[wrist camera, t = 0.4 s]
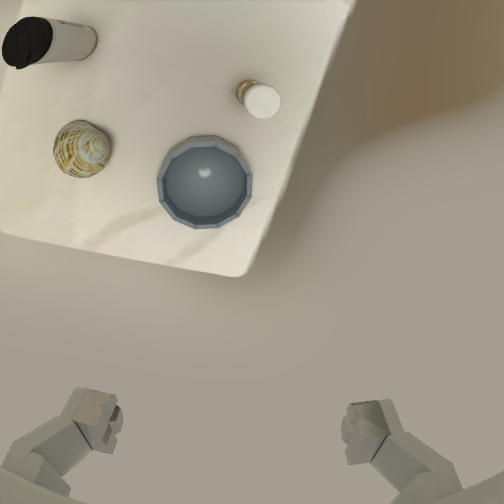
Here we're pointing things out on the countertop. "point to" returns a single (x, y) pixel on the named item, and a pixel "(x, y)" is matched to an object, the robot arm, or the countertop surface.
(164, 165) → the slate bowl
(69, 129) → the seashell
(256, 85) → the sprinkles bottle
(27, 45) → the travel mug
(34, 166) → the countertop surface
